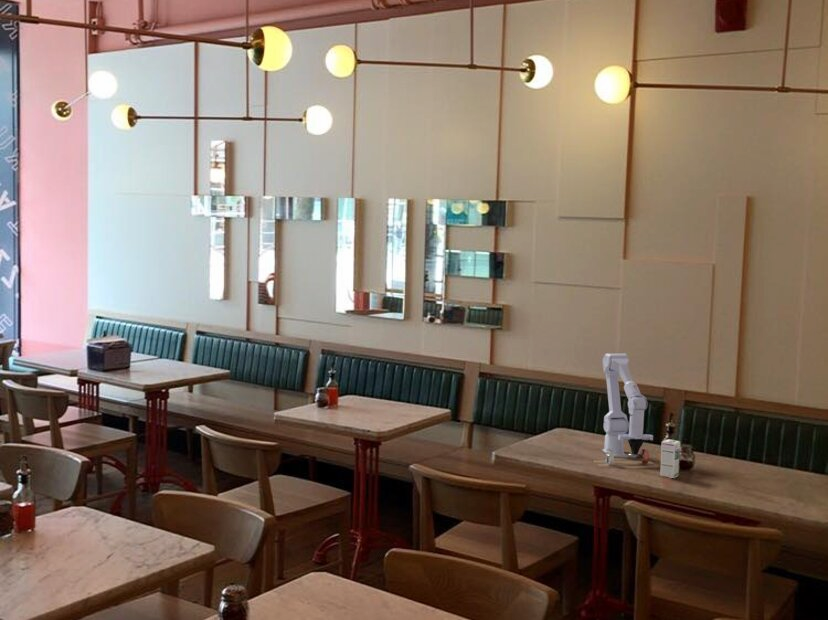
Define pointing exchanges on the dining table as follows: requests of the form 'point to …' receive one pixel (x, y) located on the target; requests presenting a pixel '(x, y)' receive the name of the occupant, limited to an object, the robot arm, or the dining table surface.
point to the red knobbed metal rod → (635, 456)
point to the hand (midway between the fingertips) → (634, 456)
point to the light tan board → (626, 464)
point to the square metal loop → (610, 458)
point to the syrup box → (670, 458)
